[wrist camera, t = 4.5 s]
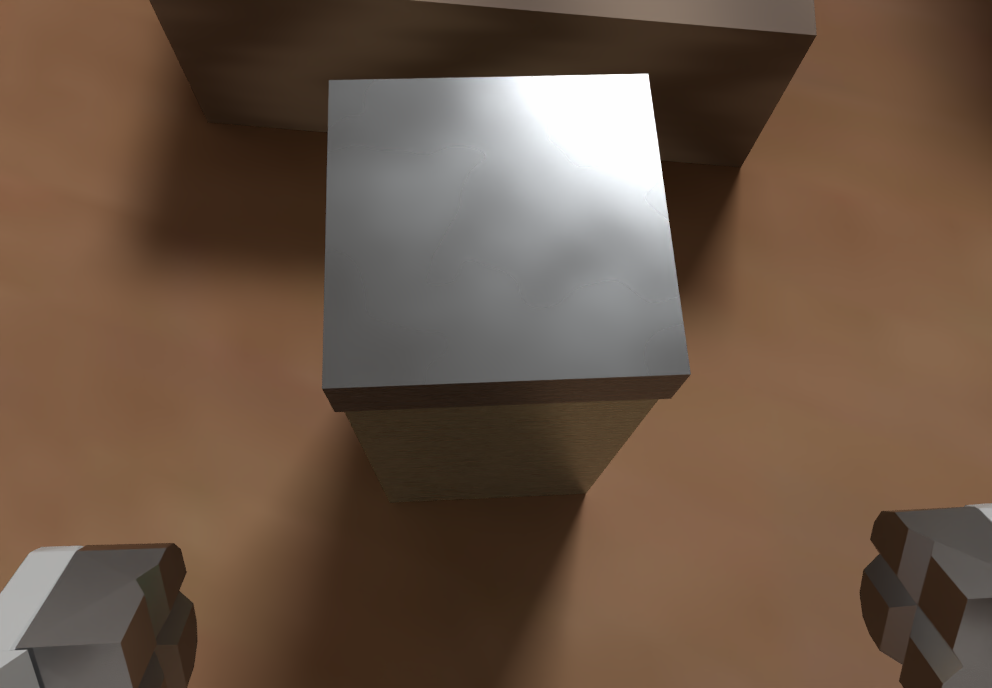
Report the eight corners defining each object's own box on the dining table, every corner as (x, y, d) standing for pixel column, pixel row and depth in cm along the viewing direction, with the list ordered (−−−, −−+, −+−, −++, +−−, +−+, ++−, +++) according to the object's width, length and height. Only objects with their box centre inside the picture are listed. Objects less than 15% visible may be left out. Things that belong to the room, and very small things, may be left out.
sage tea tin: (385, 506, 21) (322, 388, 11) (384, 316, 23) (328, 80, 13) (590, 497, 21) (690, 374, 12) (573, 310, 23) (648, 74, 14)
